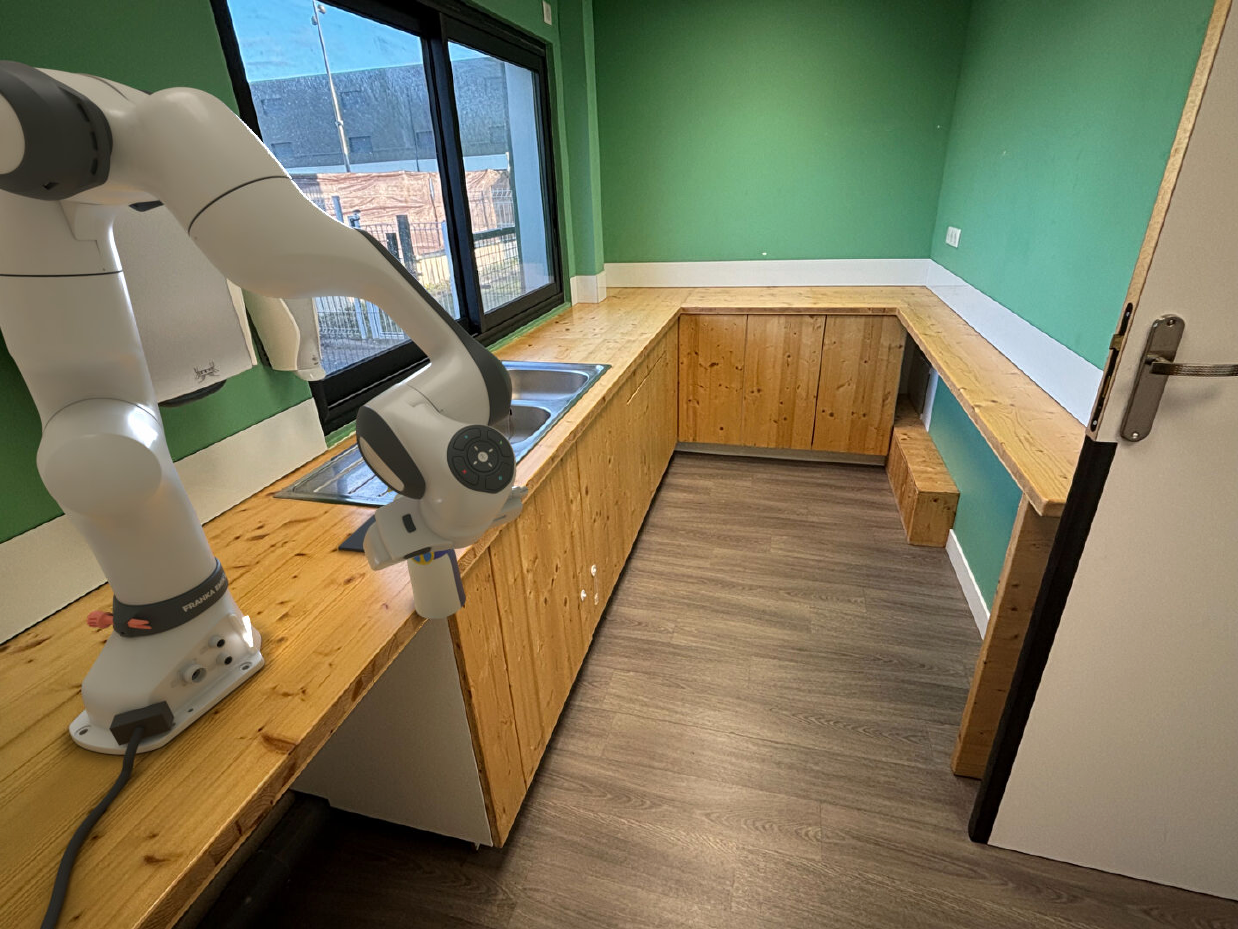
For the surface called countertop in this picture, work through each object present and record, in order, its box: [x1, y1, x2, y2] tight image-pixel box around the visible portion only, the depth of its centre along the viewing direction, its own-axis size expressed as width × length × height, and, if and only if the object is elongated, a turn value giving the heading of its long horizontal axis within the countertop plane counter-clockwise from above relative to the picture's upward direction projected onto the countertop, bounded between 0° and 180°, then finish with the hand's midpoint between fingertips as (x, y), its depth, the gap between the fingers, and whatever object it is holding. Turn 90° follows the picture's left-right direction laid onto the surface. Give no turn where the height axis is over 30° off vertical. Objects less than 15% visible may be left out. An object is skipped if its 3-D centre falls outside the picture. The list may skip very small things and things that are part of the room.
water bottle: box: [387, 486, 467, 620], centre depth 89 cm, size 8×9×25 cm
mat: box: [337, 513, 376, 553], centre depth 113 cm, size 12×12×1 cm
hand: (439, 543), depth 84 cm, fingers closed
